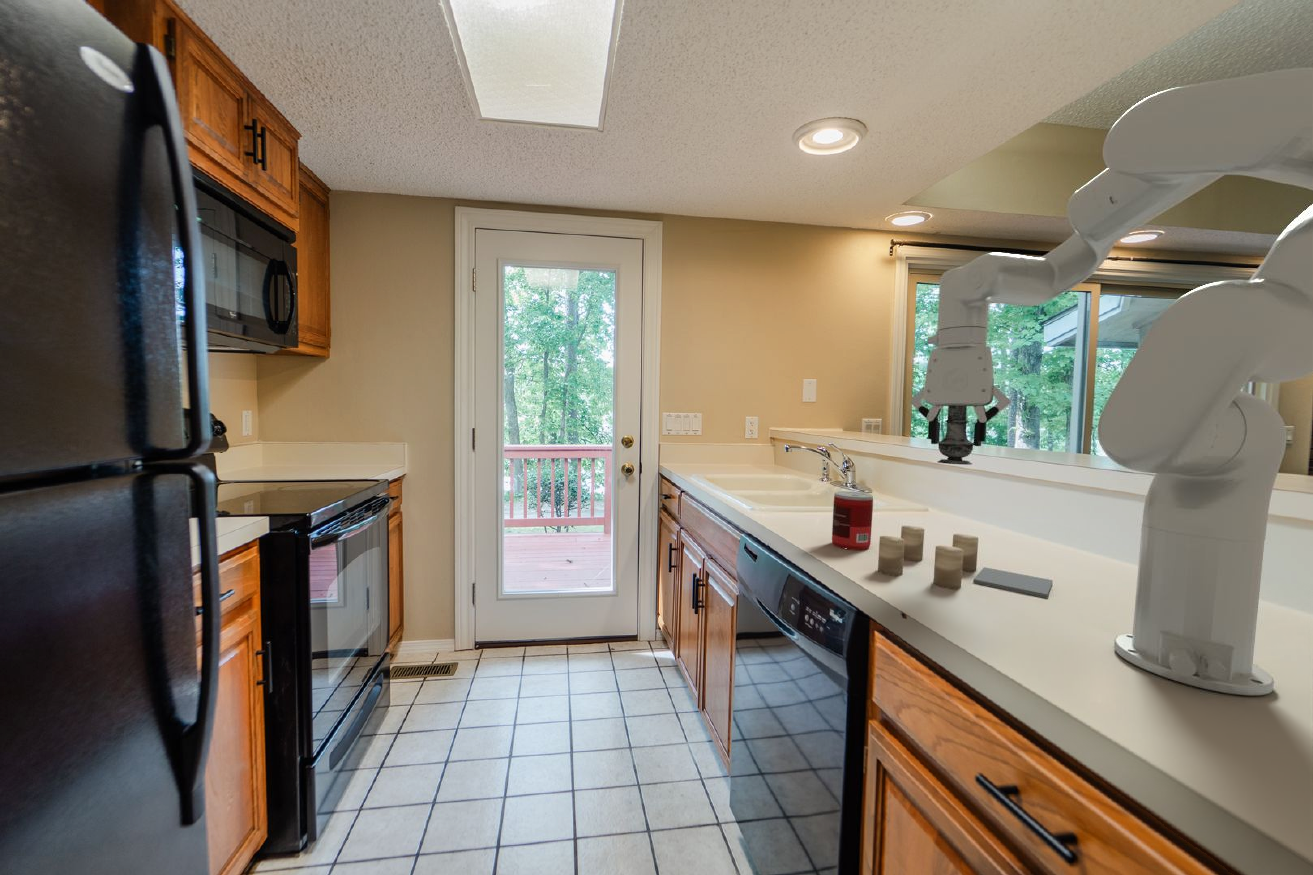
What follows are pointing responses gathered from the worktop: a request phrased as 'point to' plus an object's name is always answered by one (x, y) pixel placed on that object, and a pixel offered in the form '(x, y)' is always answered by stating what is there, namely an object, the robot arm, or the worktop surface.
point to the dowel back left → (913, 542)
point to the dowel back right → (967, 550)
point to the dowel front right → (948, 567)
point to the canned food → (852, 520)
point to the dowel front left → (891, 555)
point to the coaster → (1014, 582)
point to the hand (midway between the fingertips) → (955, 443)
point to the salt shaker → (956, 437)
